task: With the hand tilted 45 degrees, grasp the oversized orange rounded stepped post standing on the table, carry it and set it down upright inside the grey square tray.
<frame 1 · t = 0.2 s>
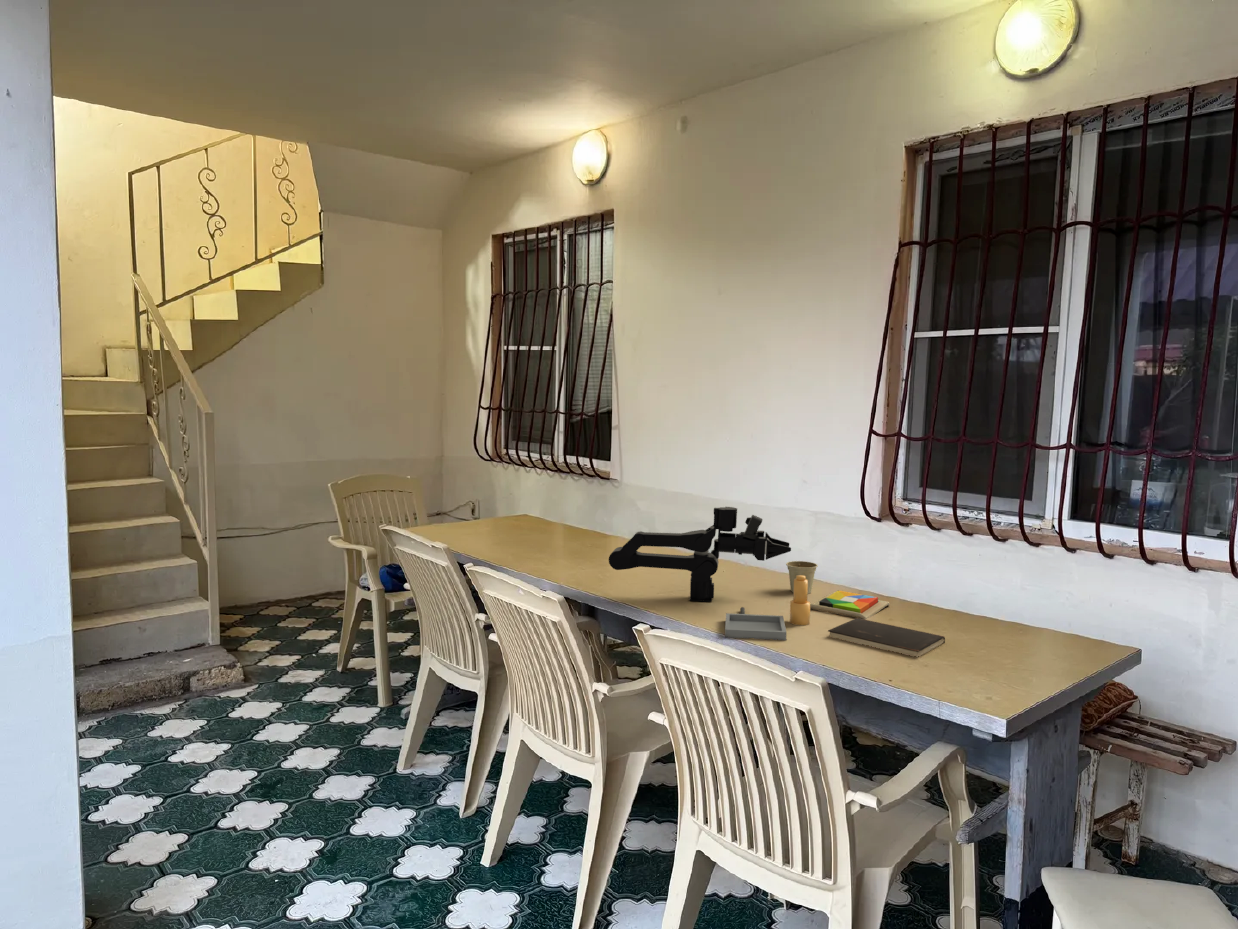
hand: (790, 547, 234), 17 cm above the table, tool horizontal, fingers open, 9 cm apart
orange rounded stepped post: (799, 622, 216), on the table
wooden puzzle: (848, 609, 232), on the table
grey square tray: (754, 630, 209), on the table
flower pot: (801, 592, 249), on the table
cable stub: (742, 615, 222), on the table
hardcover book: (885, 642, 201), on the table
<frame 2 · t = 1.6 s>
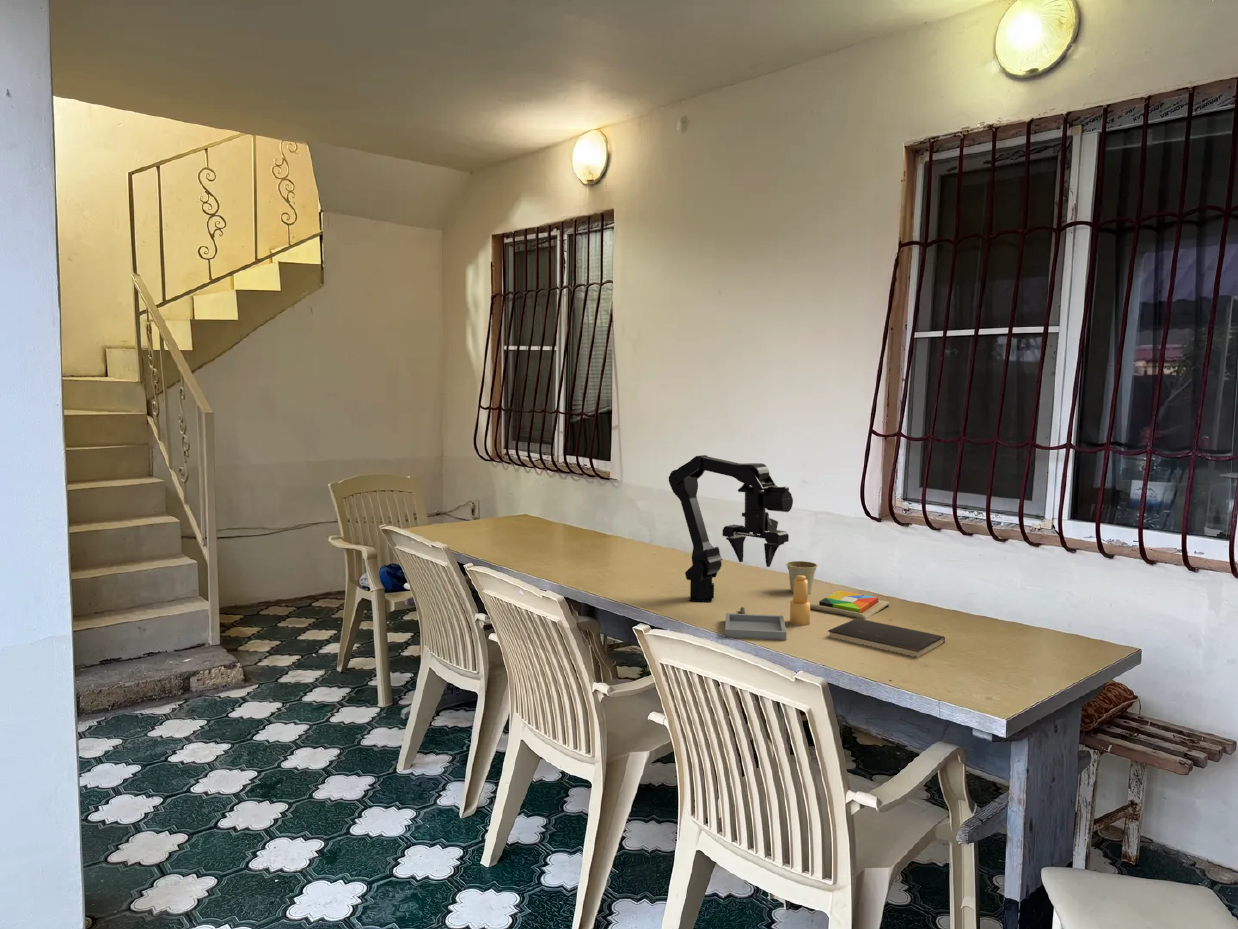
hand: (754, 564, 226), 13 cm above the table, tool pointing down, fingers open, 9 cm apart
nothing on the table moved.
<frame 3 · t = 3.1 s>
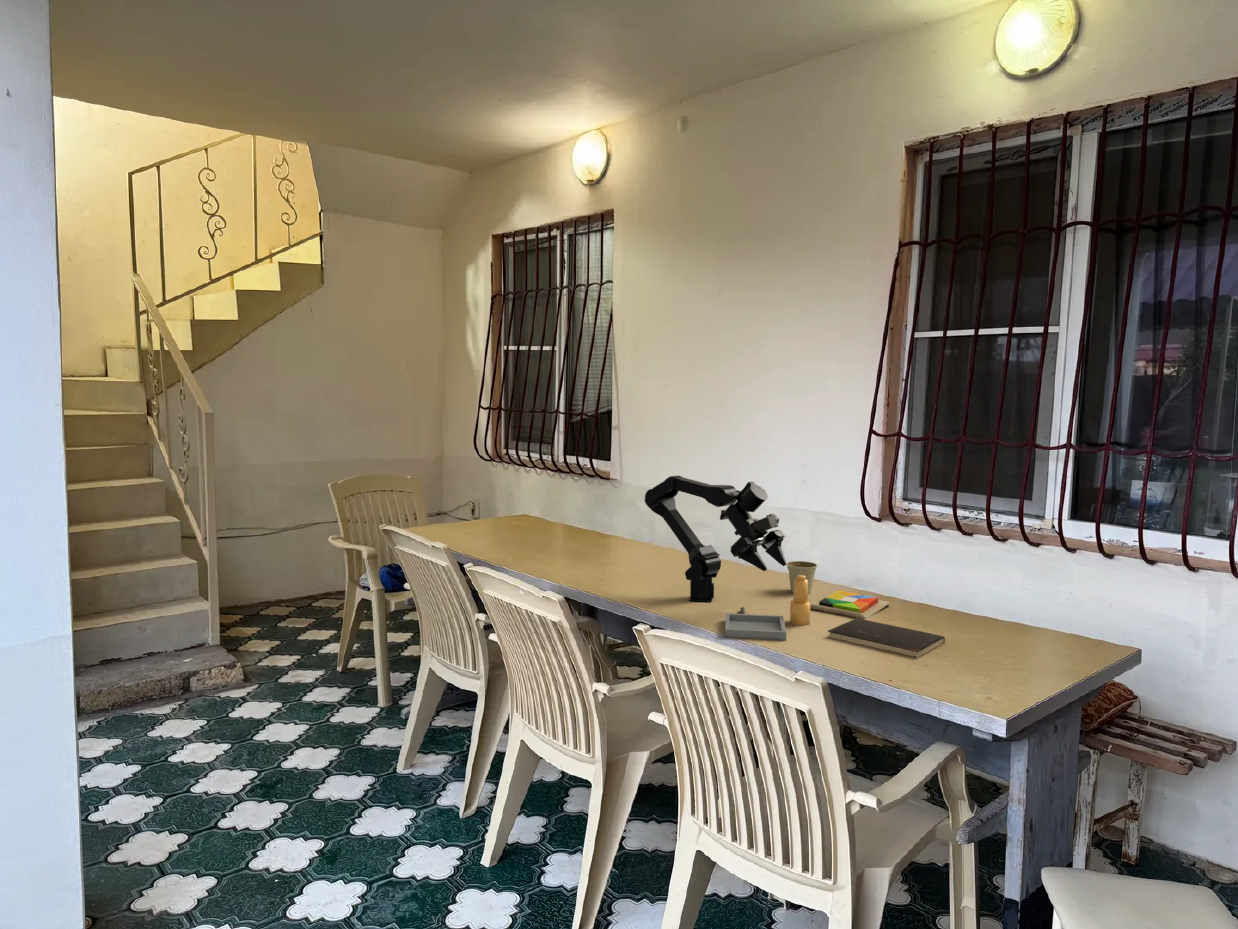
hand: (775, 567, 221), 13 cm above the table, tool tilted 45°, fingers open, 9 cm apart
nothing on the table moved.
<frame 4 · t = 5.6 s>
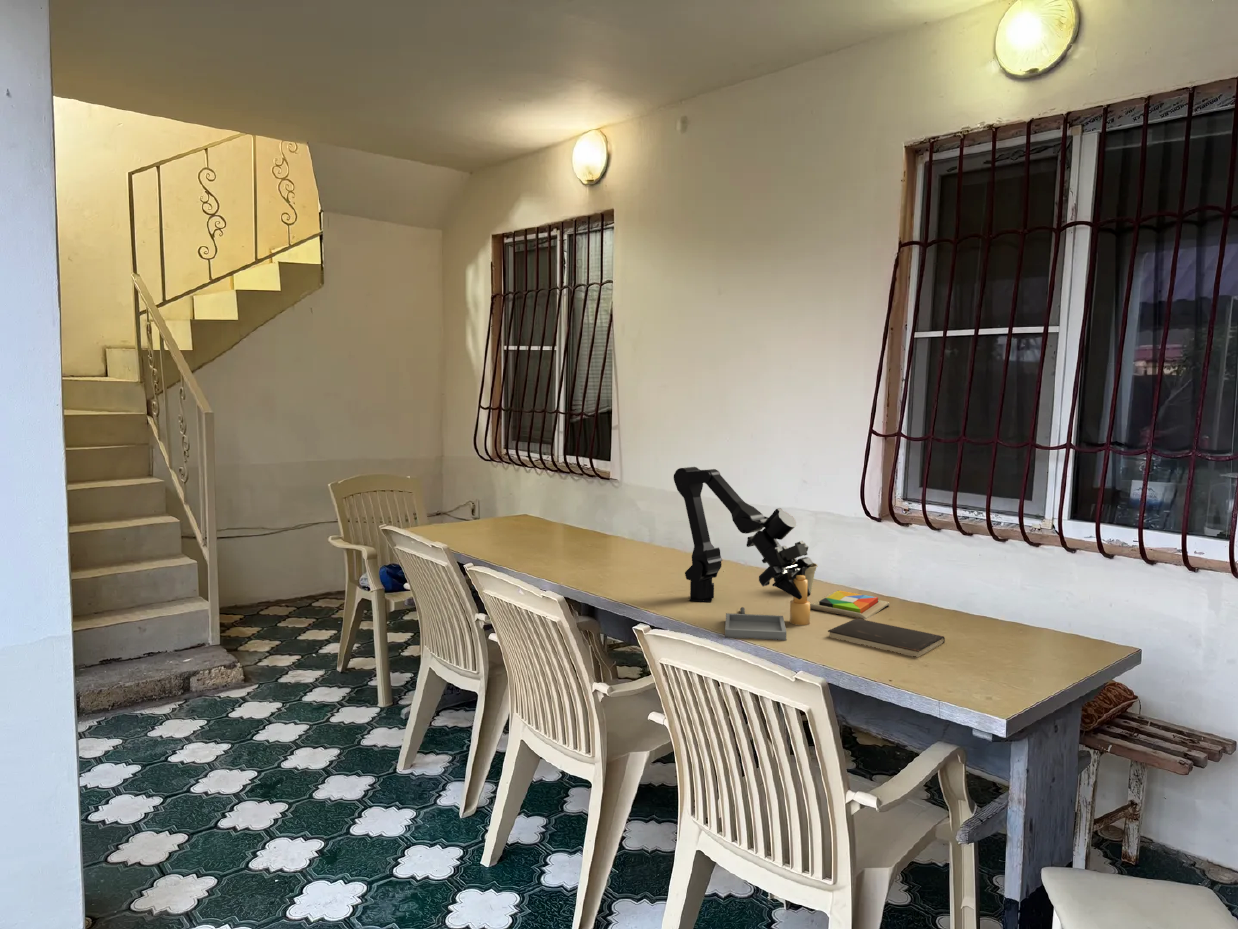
hand: (805, 597, 214), 7 cm above the table, tool tilted 45°, fingers closed on orange rounded stepped post, 4 cm apart
orange rounded stepped post: (799, 622, 216), on the table, touching gripper
everything else where it was.
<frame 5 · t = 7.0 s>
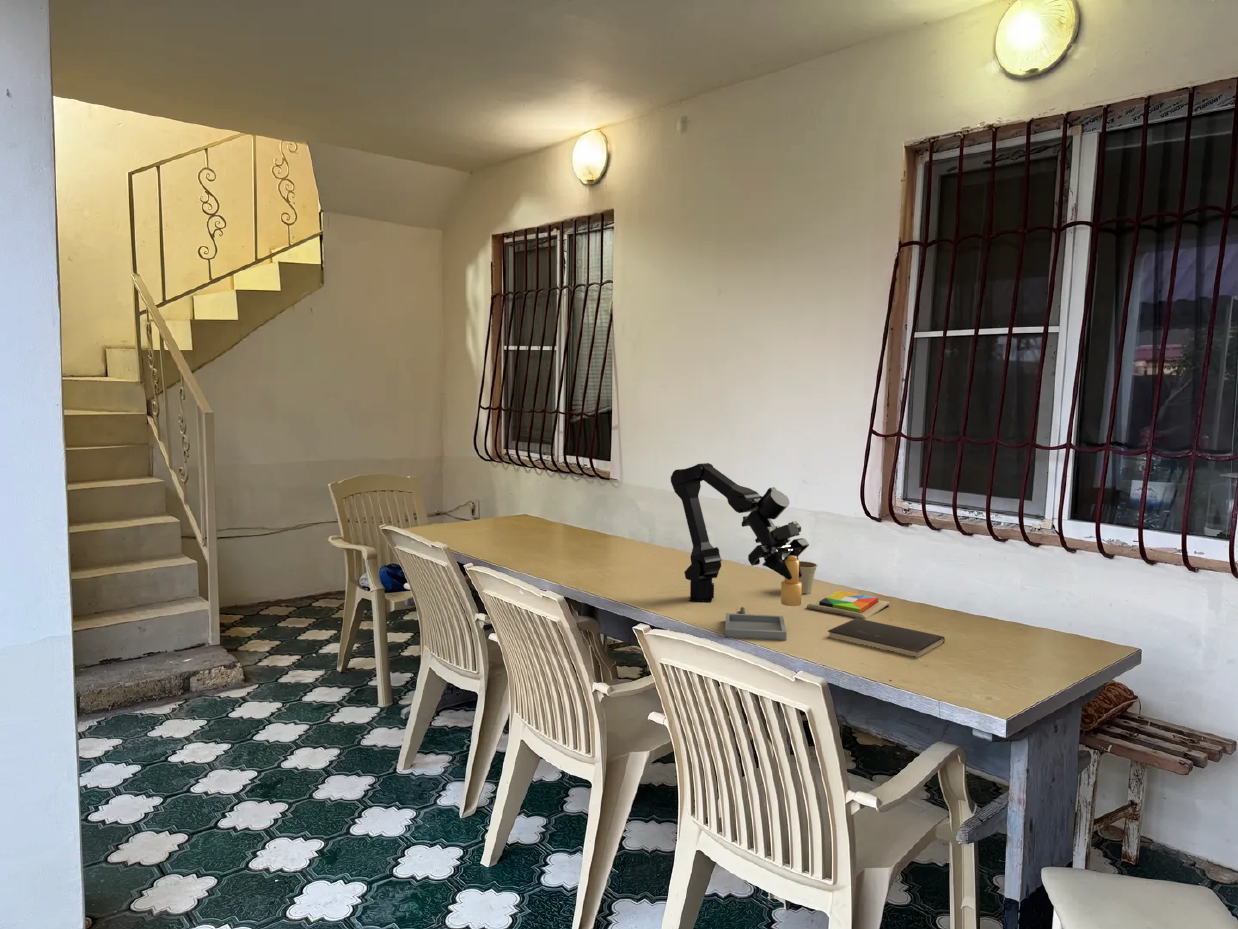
hand: (795, 577, 211), 13 cm above the table, tool tilted 45°, fingers closed on orange rounded stepped post, 4 cm apart
orange rounded stepped post: (790, 603, 213), point 6 cm above the table, touching gripper
everything else where it was.
when the fingers open (9 cm above the table, at t = 8.7 s): orange rounded stepped post drops 1 cm, resting on grey square tray.
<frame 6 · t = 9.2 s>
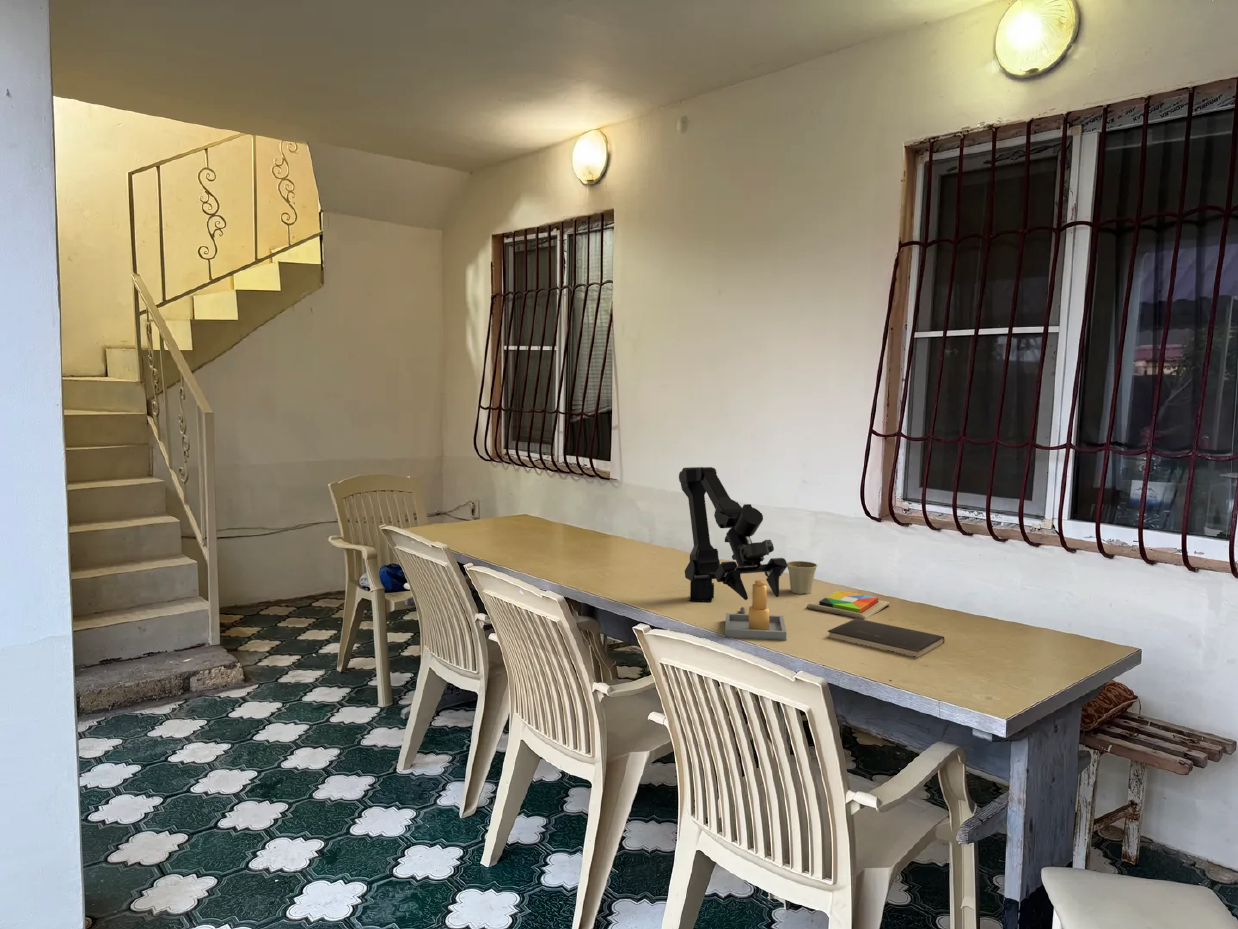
hand: (762, 598, 206), 9 cm above the table, tool tilted 45°, fingers open, 9 cm apart
orange rounded stepped post: (758, 629, 208), point 1 cm above the table, touching grey square tray
everything else where it was.
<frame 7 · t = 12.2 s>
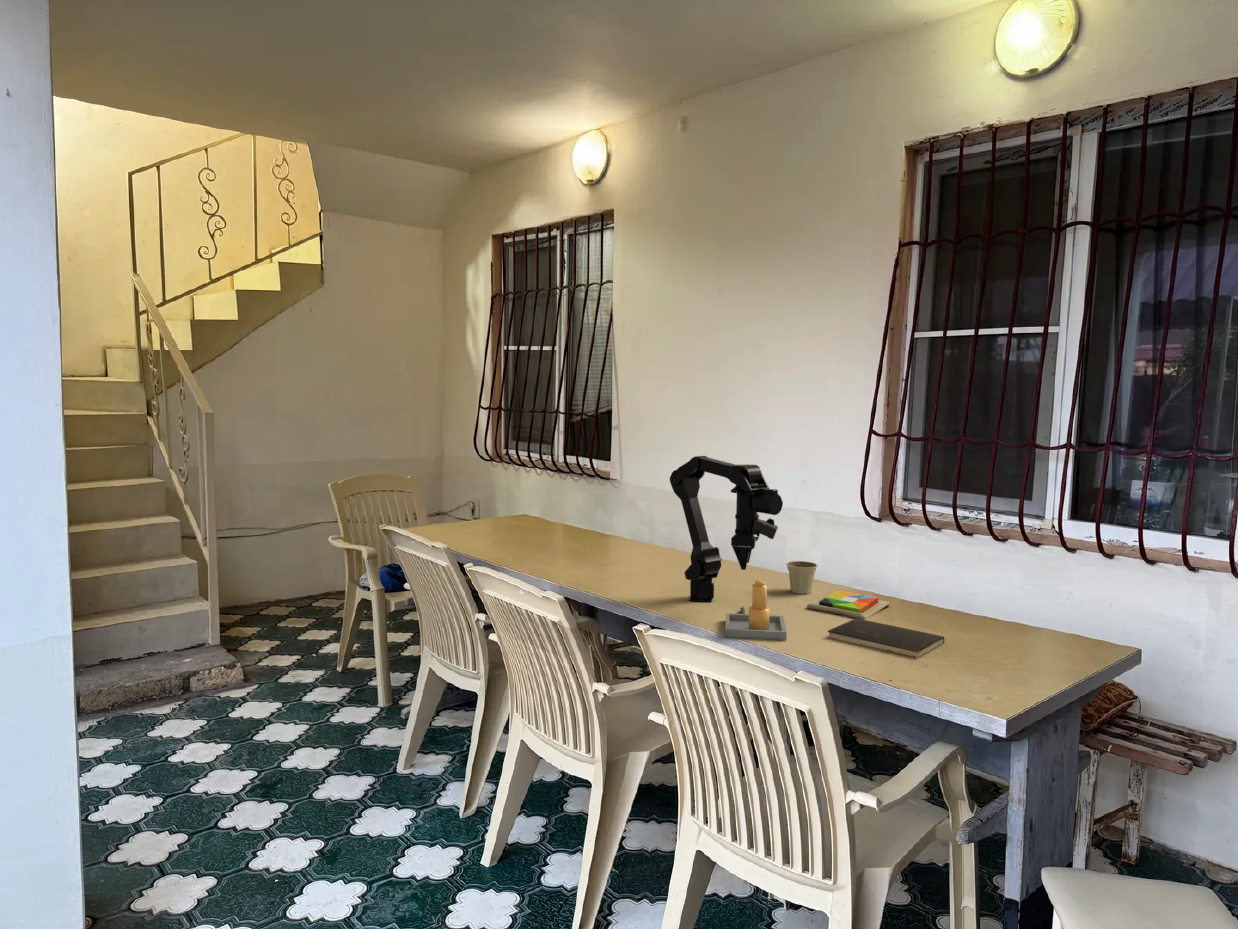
hand: (745, 566, 225), 13 cm above the table, tool pointing down, fingers open, 9 cm apart
nothing on the table moved.
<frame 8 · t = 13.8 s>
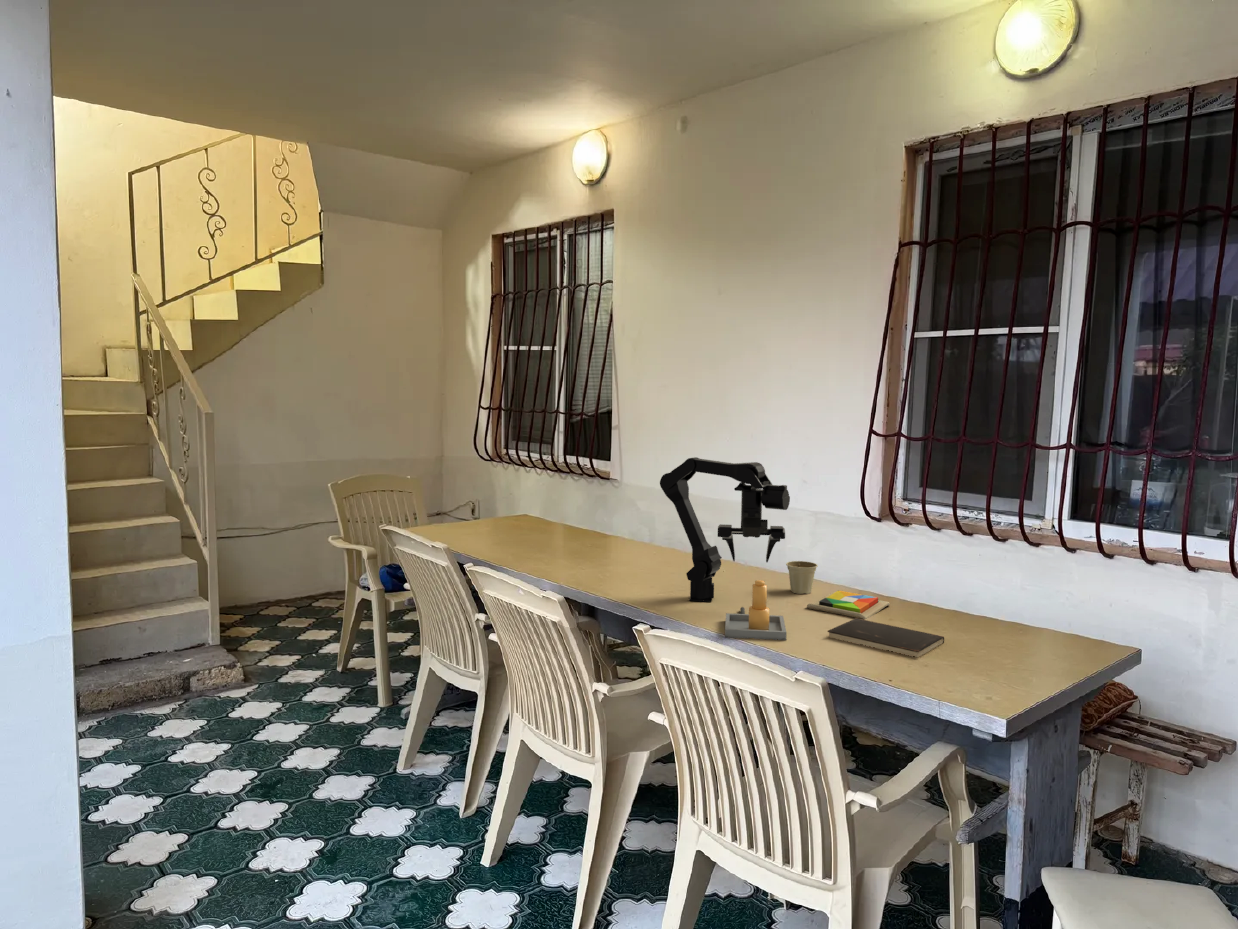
hand: (750, 561, 230), 13 cm above the table, tool pointing down, fingers open, 9 cm apart
nothing on the table moved.
at the end: orange rounded stepped post inside the target area on the grey square tray (1.3 cm from its centre), point 0.5 cm above the grey square tray's base; orange rounded stepped post tilted 0°; the gripper is holding nothing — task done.
